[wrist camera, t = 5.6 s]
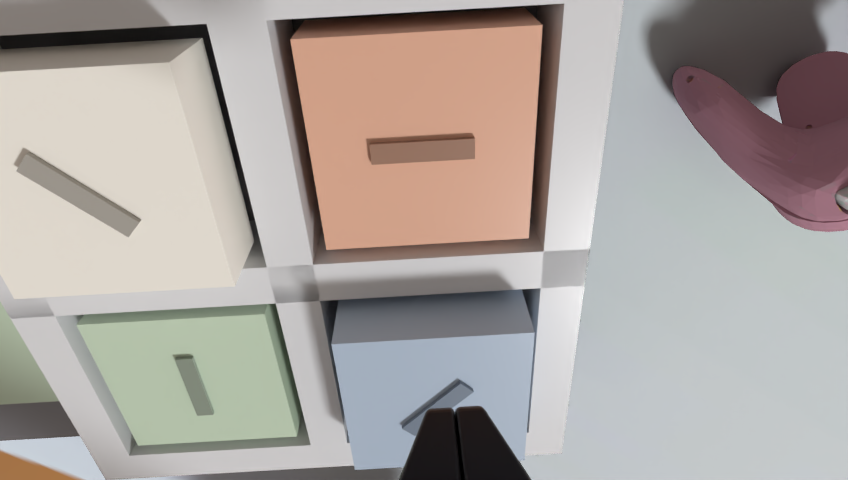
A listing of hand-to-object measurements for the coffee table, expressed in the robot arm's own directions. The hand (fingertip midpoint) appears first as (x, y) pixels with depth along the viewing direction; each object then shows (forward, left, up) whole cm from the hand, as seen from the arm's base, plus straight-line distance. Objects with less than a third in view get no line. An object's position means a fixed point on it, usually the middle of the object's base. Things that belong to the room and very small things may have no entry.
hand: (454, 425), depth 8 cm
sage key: (-5, +7, -8) cm, 13 cm away
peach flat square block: (+2, 0, -8) cm, 9 cm away
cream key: (+2, +7, -7) cm, 10 cm away
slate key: (-5, 0, -7) cm, 9 cm away
